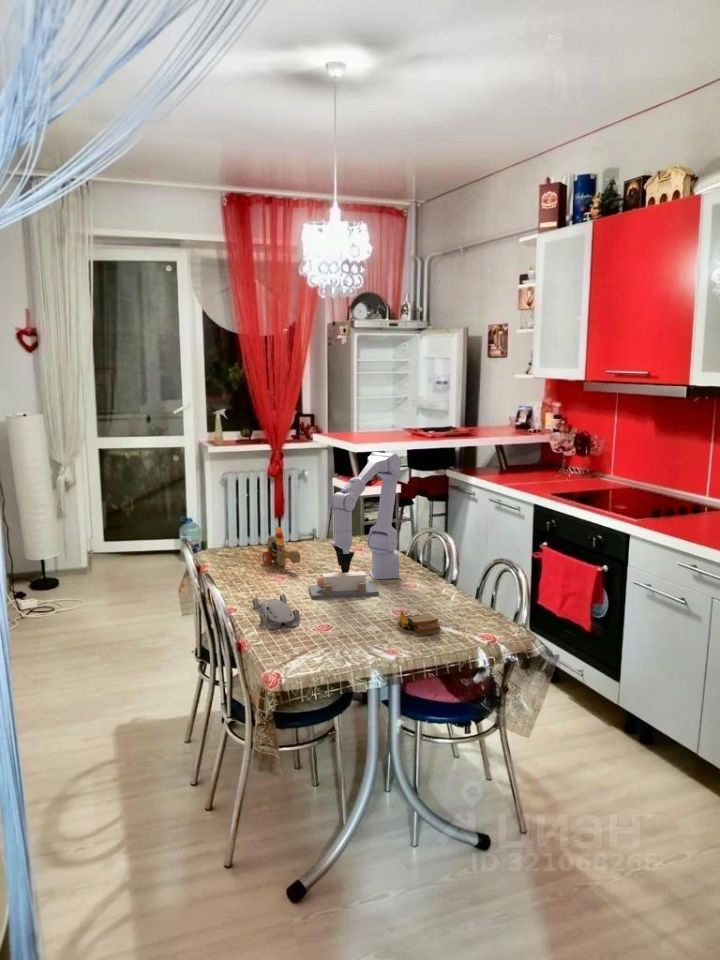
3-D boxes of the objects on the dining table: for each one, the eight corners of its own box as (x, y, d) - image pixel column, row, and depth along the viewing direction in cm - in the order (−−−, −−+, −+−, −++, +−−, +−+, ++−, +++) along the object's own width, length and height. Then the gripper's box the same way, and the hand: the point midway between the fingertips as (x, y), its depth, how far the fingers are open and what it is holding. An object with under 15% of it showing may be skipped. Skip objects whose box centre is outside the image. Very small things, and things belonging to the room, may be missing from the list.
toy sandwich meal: (435, 619, 216) (435, 604, 215) (445, 637, 203) (445, 621, 202) (393, 621, 215) (393, 606, 214) (400, 639, 202) (401, 623, 201)
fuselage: (363, 585, 243) (363, 571, 242) (365, 589, 239) (365, 574, 238) (316, 588, 240) (316, 573, 239) (317, 592, 236) (317, 577, 235)
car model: (285, 602, 231) (285, 587, 230) (304, 629, 209) (304, 613, 208) (250, 606, 228) (250, 591, 227) (266, 634, 205) (266, 617, 204)
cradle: (373, 585, 246) (373, 573, 246) (379, 595, 236) (379, 583, 236) (309, 588, 243) (308, 577, 242) (312, 599, 233) (311, 586, 232)
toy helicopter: (279, 558, 278) (278, 524, 276) (308, 571, 262) (308, 535, 260) (260, 562, 273) (259, 527, 271) (289, 576, 257) (288, 538, 255)
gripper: (328, 524, 242) (328, 563, 245) (333, 535, 228) (334, 576, 231) (349, 523, 243) (349, 562, 246) (355, 534, 229) (356, 575, 232)
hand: (343, 568), depth 238 cm, fingers open, 7 cm apart
